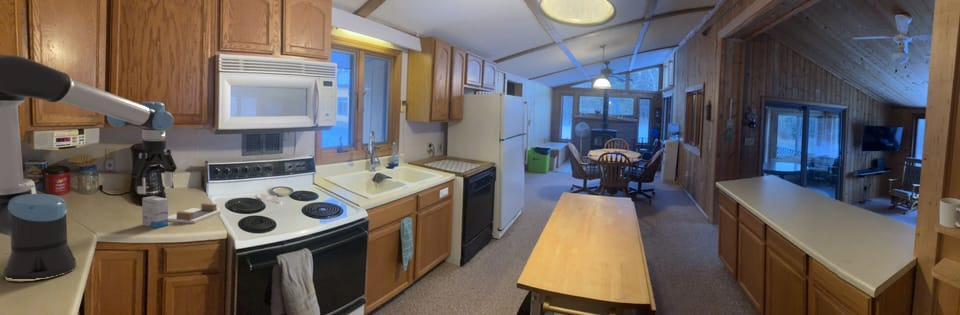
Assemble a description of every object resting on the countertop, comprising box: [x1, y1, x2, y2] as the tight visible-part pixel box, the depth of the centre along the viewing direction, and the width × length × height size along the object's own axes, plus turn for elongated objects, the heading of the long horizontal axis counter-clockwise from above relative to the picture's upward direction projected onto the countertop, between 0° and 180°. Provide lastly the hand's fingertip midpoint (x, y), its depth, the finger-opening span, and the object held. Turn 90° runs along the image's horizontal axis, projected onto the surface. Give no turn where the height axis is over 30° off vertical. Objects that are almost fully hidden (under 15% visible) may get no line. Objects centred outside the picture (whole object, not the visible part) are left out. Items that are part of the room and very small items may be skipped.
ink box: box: [141, 195, 169, 229], centre depth 173 cm, size 9×5×12 cm, turn 74°
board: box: [168, 202, 221, 224], centre depth 188 cm, size 17×14×4 cm
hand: (155, 190), depth 172 cm, fingers open, 13 cm apart
